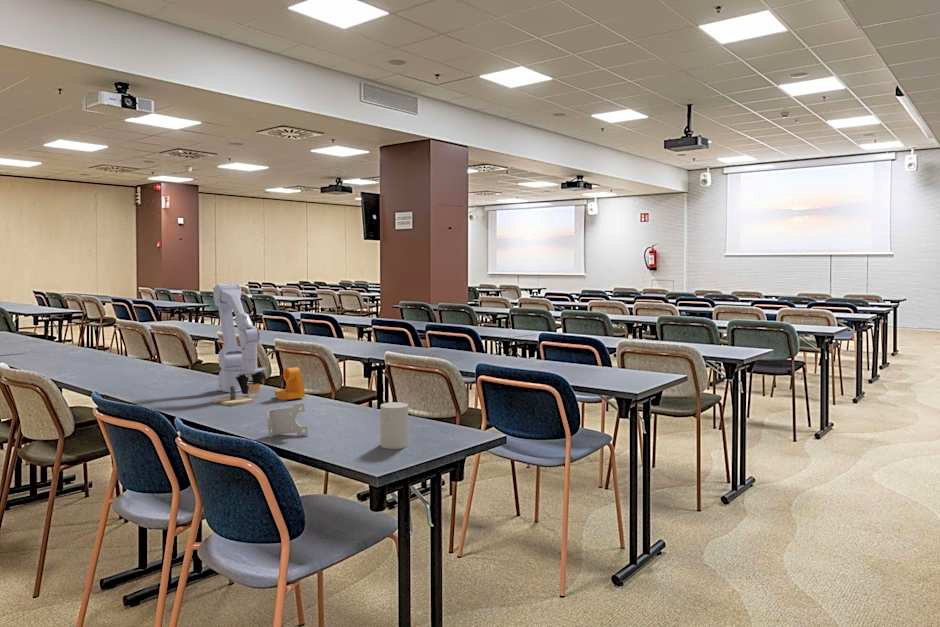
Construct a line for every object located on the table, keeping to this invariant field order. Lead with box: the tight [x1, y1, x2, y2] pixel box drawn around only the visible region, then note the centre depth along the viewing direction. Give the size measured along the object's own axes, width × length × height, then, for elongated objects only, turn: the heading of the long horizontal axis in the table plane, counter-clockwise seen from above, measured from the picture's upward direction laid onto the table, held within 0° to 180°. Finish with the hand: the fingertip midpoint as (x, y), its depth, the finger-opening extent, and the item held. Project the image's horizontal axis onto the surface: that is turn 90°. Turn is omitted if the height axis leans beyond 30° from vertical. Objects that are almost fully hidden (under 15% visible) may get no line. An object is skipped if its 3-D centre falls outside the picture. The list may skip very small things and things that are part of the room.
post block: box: [211, 386, 255, 407], centre depth 267 cm, size 12×10×6 cm
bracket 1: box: [274, 366, 306, 401], centre depth 275 cm, size 11×7×12 cm, turn 46°
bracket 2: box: [265, 402, 310, 438], centre depth 216 cm, size 11×4×10 cm, turn 82°
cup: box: [380, 401, 409, 450], centre depth 207 cm, size 8×8×12 cm
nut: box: [240, 381, 260, 399], centre depth 278 cm, size 5×5×5 cm
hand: (250, 392), depth 278 cm, fingers closed on nut, 5 cm apart
